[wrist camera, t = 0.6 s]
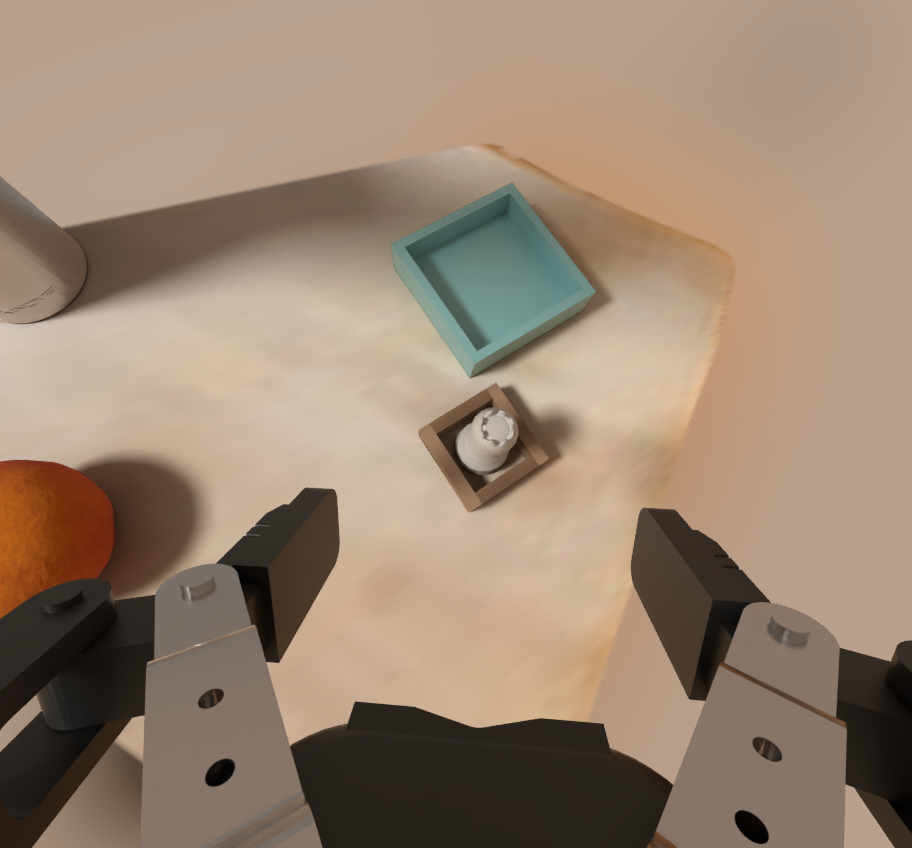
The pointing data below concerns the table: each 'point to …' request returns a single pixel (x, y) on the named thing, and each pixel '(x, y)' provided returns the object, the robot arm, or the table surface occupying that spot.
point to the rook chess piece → (486, 441)
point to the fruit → (49, 529)
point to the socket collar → (448, 466)
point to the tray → (490, 278)
